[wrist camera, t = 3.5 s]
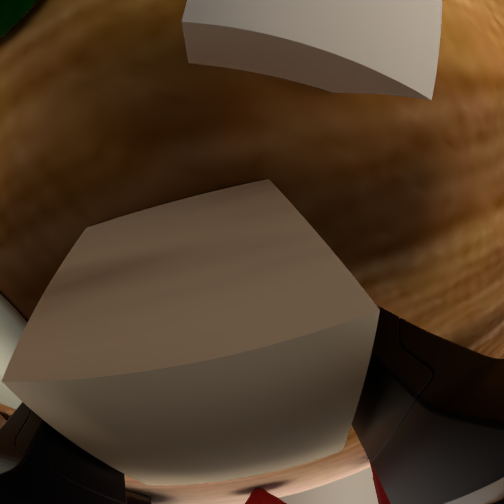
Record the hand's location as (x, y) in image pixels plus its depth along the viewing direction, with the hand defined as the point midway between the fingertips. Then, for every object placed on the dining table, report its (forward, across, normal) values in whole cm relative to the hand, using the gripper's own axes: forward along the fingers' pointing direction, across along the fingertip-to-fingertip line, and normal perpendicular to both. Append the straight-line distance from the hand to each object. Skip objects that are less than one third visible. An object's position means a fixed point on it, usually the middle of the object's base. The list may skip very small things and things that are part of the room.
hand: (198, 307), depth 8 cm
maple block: (+1, 0, 0) cm, 1 cm away
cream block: (+1, -4, -8) cm, 9 cm away
